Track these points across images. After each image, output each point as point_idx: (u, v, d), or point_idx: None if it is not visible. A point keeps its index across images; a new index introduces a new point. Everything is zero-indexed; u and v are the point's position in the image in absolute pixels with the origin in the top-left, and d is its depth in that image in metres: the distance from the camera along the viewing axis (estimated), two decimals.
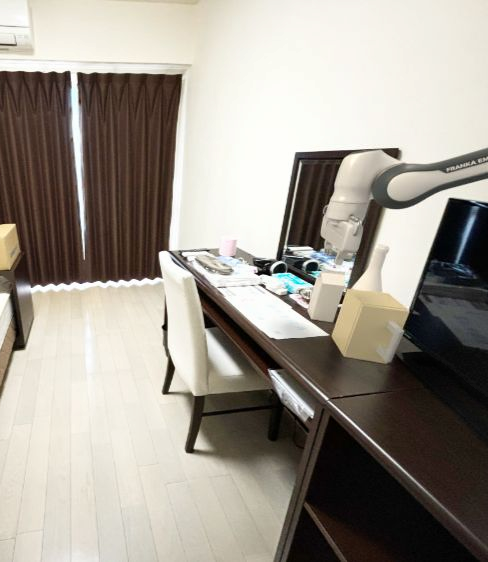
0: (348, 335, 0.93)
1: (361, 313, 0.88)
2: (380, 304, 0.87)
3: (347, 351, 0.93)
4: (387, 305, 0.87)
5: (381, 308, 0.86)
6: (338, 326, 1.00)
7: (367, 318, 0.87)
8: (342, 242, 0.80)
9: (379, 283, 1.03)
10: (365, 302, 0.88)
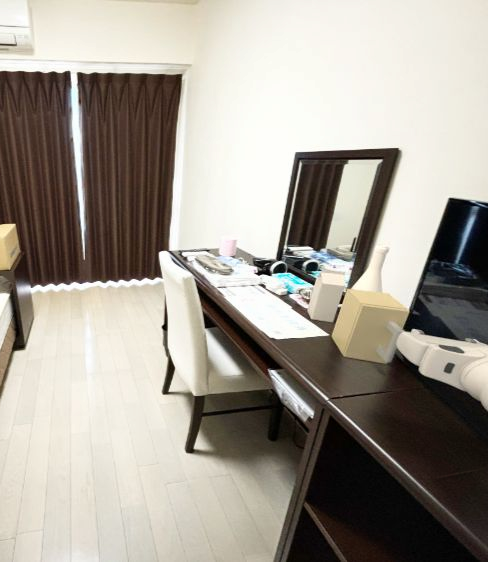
0: (348, 335, 0.93)
1: (361, 313, 0.88)
2: (380, 304, 0.87)
3: (347, 351, 0.93)
4: (387, 305, 0.87)
5: (381, 308, 0.86)
6: (338, 326, 1.00)
7: (367, 318, 0.87)
8: None
9: (379, 283, 1.03)
10: (365, 302, 0.88)
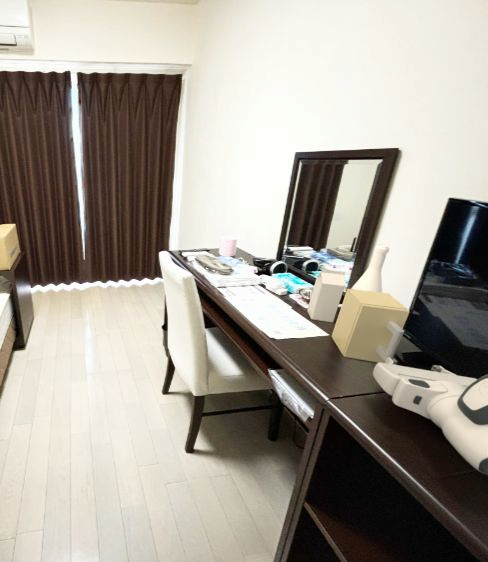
0: (348, 335, 0.93)
1: (361, 313, 0.88)
2: (380, 304, 0.87)
3: (347, 351, 0.93)
4: (387, 305, 0.87)
5: (381, 308, 0.86)
6: (338, 326, 1.00)
7: (367, 318, 0.87)
8: None
9: (379, 283, 1.03)
10: (365, 302, 0.88)
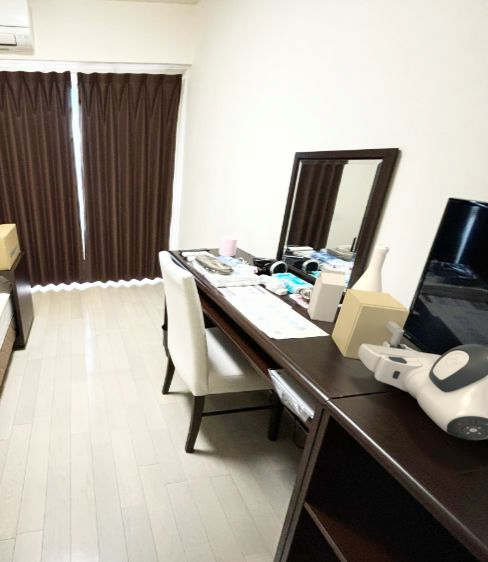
0: (348, 335, 0.93)
1: (361, 313, 0.88)
2: (380, 304, 0.87)
3: (347, 351, 0.93)
4: (387, 305, 0.87)
5: (381, 308, 0.86)
6: (338, 326, 1.00)
7: (367, 318, 0.87)
8: None
9: (379, 283, 1.03)
10: (365, 302, 0.88)
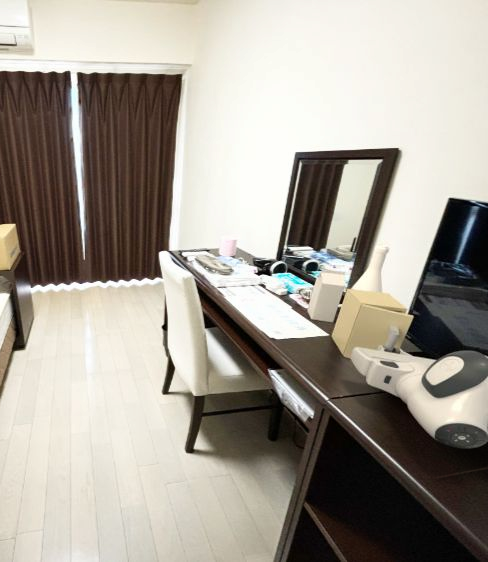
0: (348, 335, 0.93)
1: (360, 313, 0.87)
2: (380, 304, 0.87)
3: (346, 351, 0.92)
4: (387, 305, 0.87)
5: (382, 310, 0.84)
6: (338, 326, 1.00)
7: (367, 319, 0.87)
8: None
9: (379, 283, 1.03)
10: (365, 302, 0.88)
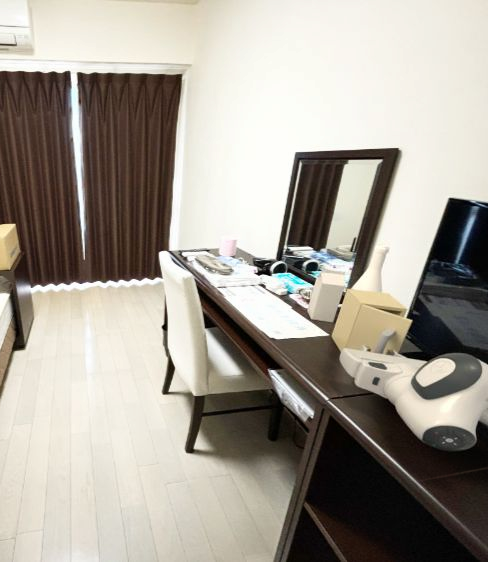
0: (348, 335, 0.93)
1: (360, 313, 0.88)
2: (380, 304, 0.87)
3: None
4: (387, 305, 0.87)
5: (380, 312, 0.83)
6: (338, 326, 1.00)
7: (366, 319, 0.87)
8: None
9: (379, 283, 1.03)
10: (365, 302, 0.88)
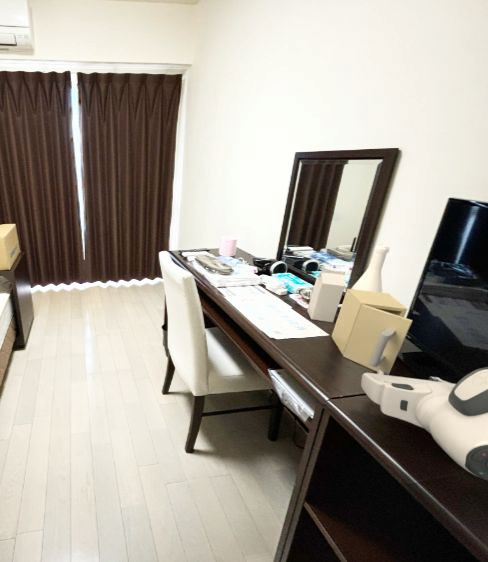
0: (348, 335, 0.93)
1: (360, 313, 0.88)
2: (380, 304, 0.87)
3: (346, 351, 0.93)
4: (387, 305, 0.87)
5: (380, 312, 0.83)
6: (338, 326, 1.00)
7: (366, 319, 0.87)
8: None
9: (379, 283, 1.03)
10: (365, 302, 0.88)
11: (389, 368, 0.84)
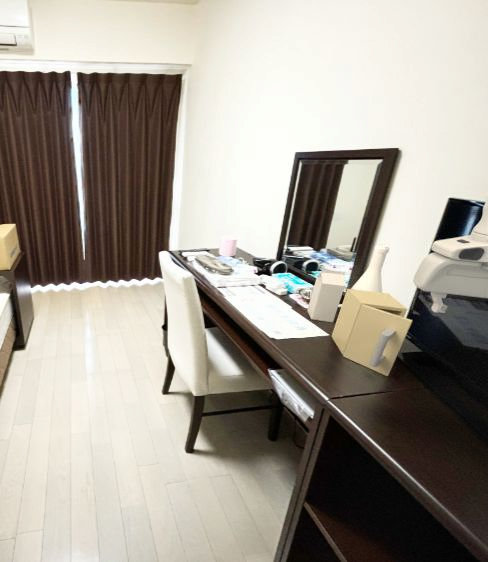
0: (348, 335, 0.93)
1: (360, 313, 0.88)
2: (380, 304, 0.87)
3: (346, 351, 0.93)
4: (387, 305, 0.87)
5: (380, 312, 0.83)
6: (338, 326, 1.00)
7: (366, 319, 0.87)
8: None
9: (379, 283, 1.03)
10: (365, 302, 0.88)
11: (389, 368, 0.84)
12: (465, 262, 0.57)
